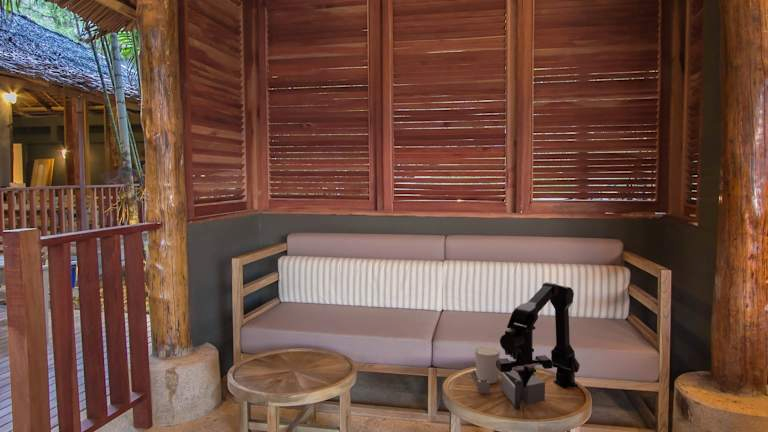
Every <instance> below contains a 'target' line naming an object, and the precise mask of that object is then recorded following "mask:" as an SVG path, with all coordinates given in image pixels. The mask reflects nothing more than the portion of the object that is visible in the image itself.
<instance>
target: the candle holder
mask: <svg viewBox="0 0 768 432" xmlns="http://www.w3.org/2000/svg"><path fill="white" fill-rule="evenodd" d="M500 355H501V350H500V349H499V348H497V347H494V346H489V345H488V346H487V345H484V346H478V347H476V348H475V349H474V356H475V357H474V358H475V373H476V375H477V378H478V380H481V378H485V379H487V381H489V385H491V384H495V383H497V382H498V381H499V380H498V379H499V371H500V370H499V369H498V368H497V367H496V361H497V359H500V357H501V356H500Z"/></svg>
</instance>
